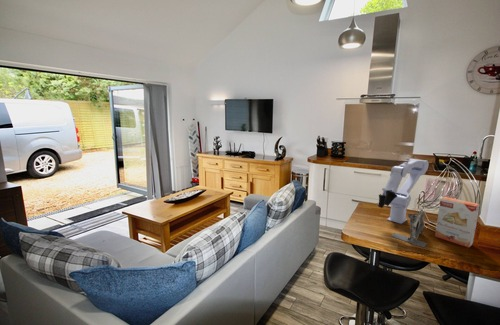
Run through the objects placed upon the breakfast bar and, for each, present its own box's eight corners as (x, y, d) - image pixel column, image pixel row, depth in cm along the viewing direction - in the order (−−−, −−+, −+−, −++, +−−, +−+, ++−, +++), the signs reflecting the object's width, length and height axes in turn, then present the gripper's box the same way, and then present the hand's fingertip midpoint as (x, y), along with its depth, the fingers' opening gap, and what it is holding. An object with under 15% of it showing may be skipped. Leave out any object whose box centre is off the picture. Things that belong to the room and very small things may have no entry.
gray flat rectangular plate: (394, 233, 133) (394, 232, 133) (427, 243, 122) (427, 243, 122) (390, 236, 129) (390, 235, 129) (423, 247, 118) (423, 246, 118)
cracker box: (434, 237, 129) (440, 198, 125) (438, 234, 132) (444, 195, 129) (469, 248, 118) (476, 206, 114) (472, 244, 121) (480, 203, 117)
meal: (413, 231, 135) (416, 208, 133) (422, 234, 132) (426, 210, 130) (404, 239, 125) (407, 214, 123) (413, 242, 122) (417, 217, 120)
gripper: (380, 184, 148) (370, 204, 144) (391, 178, 134) (381, 199, 131) (392, 190, 146) (382, 210, 143) (404, 184, 132) (394, 206, 129)
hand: (383, 206), depth 137 cm, fingers open, 7 cm apart
